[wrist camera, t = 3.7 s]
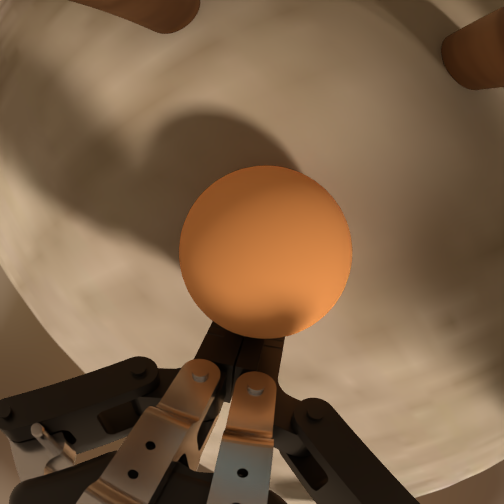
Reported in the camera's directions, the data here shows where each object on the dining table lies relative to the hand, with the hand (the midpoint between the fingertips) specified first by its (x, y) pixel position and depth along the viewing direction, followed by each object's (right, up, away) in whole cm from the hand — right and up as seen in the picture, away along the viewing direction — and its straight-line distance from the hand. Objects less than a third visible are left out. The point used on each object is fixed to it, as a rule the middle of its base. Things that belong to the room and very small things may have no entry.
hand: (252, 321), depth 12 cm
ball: (0, +3, -3) cm, 4 cm away
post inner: (+9, +11, -5) cm, 15 cm away
